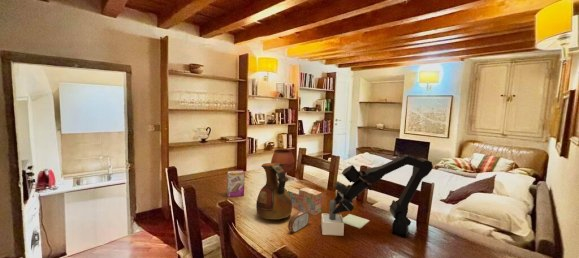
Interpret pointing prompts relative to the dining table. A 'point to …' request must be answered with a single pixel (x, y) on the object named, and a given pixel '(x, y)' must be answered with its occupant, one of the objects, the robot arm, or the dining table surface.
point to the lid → (331, 216)
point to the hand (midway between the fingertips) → (332, 209)
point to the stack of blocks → (306, 200)
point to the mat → (355, 221)
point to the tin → (298, 221)
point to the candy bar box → (235, 183)
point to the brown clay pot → (283, 159)
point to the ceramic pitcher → (274, 194)
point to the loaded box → (332, 227)
